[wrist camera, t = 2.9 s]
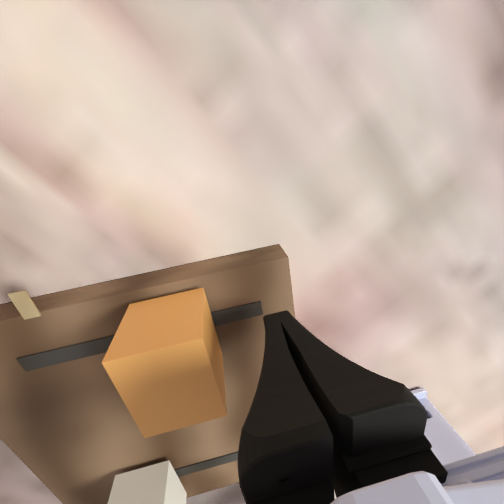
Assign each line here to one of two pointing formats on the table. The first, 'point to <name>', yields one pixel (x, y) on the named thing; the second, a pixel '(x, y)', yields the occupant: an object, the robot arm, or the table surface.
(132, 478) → the white fader
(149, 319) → the orange fader
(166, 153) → the table surface
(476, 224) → the table surface
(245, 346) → the console
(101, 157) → the table surface
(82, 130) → the table surface
